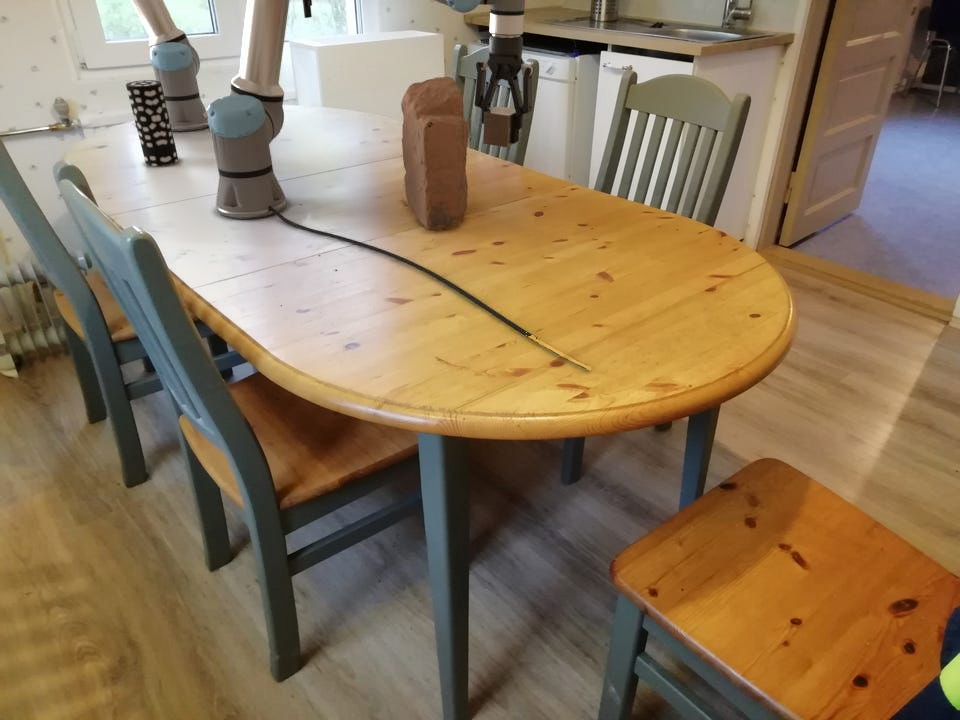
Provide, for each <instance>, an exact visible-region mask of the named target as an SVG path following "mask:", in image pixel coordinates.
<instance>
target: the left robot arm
mask: <svg viewBox="0 0 960 720" xmlns="http://www.w3.org/2000/svg"><path fill="white" fill-rule="evenodd" d="M130 1H131V3H132V5H133V7H134V9H135V11H136V13H137V14H138V16H139V18H140V20H141V22H142V24H143V26H144V28H145V30H146V31H147V34H148V35H149V39H150V40H149V43H148V46H149V48H150V50H149V55H150V59H149V60H150V62H151V65H152V68H153V73H154V79H155V81H160V82H161V84H162V89H163V93H164V98H165V102H166V106H167V111H168V115H169V120H170V124H171V129H172V132H190V131H196V130H203V129H205V128H209V126H208V114H207V109H206V107H205V104H204V103H203V101H202V99H201V95H200V89H199V84H198V79H197V75H198V74H199V72H200V68H201V61H200V56H199V54H198V52H197V50H196V49H195V48H194V47H193V45H192V44H191V43H190V40H189V39H188V36H187V34H186V32H185V31H184V30H182V29H179V28H178V27H177V24H176V23H175V21H174V19H173V18H172V14H171V13H170V11H169V9H168V8H167V6H166V3H165V2H164V0H130ZM312 1H313V0H302V6H303V16H304V18H305V19H309V18H313V16H312V6H313V2H312Z"/></svg>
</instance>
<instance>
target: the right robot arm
mask: <svg viewBox="0 0 960 720" xmlns="http://www.w3.org/2000/svg"><path fill="white" fill-rule="evenodd" d="M290 1H291V0H246V6H245V17H244V26H243V35H242V45H241V55H240V65H239V73H238V74H237V75H236V76H234V77H233V78H231V81H230V89H229V90H230V91H229V95H228V96H223V97H222V98H217V99H215V100H213V101H212V102H210V103H209V105H208V106H207V109H206V111H207V114H208V129H209V131H210V136H211V142H212V147H213V151H214V156H215V161H216V167H217V169H218V170H217V172H218V185H217V193H216V201H215V206H216V210H217V213H218V214H219V215H221V216H223V217H225V218H229V219H236V220H253V219H260V218H261V219H262V218H265V217H266V218H267V217H270V216H274V215H276V217H277V218H279V219H280V220H281V221H283V222H285V223H286V224H287V225H290V226H292V227H293V228H296V229H300V230H303V231H305V232H308V233H313V234H316V235H321V236H325V237H328V238H332V239H336V240H340V241H342V242H346V243H350V244H353V245H357V246H359V247H362V248H364V249H369V250H371V251H373V252H374V251H375V252H376V253H379V254H383V255H385V256H387V257H388V256H389V257H391V258H393V259H396V260H398V261H400V262H402V263H405V264H406V265H409V266H411V267H414V268H415V269H417V270H419V271H422V272H423V273H425V274H427V275H428V276H430V277H433V278H434V279H435V280H438V281H440V282H441V283H443V284H445V285H446V286H448V287H450V288H451V289H453V290H455V291H456V292H458V293H459V294H461V295H462V296H463V297H465V298H467V299H469V300H470V301H472V302H473V303H475V304H476V305H478V306H479V307H481V308H482V309H483V310H485V311H487V312H488V313H490V314H491V315H492V316H494V317H495V318H497V319H499V320H500V321H501V322H503V323H505V324H506V326H507V325H508V326H509V327H510V328H512V329H514V330H515V331H516V332H518V333H520V334H521V335H523V336H525V335H527V337H526V338H528V336H531V335H533V334H532V333H530V332H529V331H527V330H526V329H524V328H523V327H521V326H520V325H517V324H516V323H514V321H511V320H510V319H508V318H507V317H505V316H504V315H502V314H501V313H499V312H498V311H496V310H495V309H494V308H492V307H490V306H488V305H487V304H486V303H484V302H482V301H481V300H479V299H478V298H477V297H475V296H474V295H472V294H471V293H469V292H468V291H466V290H464V289H463V288H461V287H460V286H458V285H456V284H454V283H453V282H451V281H450V280H448V279H446V278H445V277H443V276H441V275H439V274H437V273H435V272H434V271H432V270H430V269H428V268H427V267H424V266H422V265H420V264H418V263H417V262H415V261H412V260H410V259H407V258H405V257H402V256H400V255H398V254H395V253H392V252H390V251H387V250H384V249H383V248H380V247H377V246H374V245H371V244H368V243H366V242H365V243H364V242H361V241H358V240H355V239H352V238H349V237H345V236H341V235H339V234H334V233H331V232H327V231H322V230H317V229H314V228H310V227H307V226H304V225H301V224H298V223H295V222H294V221H292V220H290V219H287V218H286V217H285V216H284V215H282V214H281V213H280V212H282V211H283V210H285V209H286V207H287V199H286V194H285V193H284V191H283V189H282V187H281V184H280V182H279V180H278V179H277V177H276V175H275V172H274V167H273V160H272V154H271V147H270V144H271V143H272V141H273V140H275V139H276V138H277V137H278V135H279V134H280V133H281V130H282V129H283V125H284V122H285V112H284V111H285V110H284V108H283V106H284V99H285V91H284V89H283V88H282V87H281V85H280V77H281V69H282V61H283V53H284V47H285V46H284V45H285V38H286V30H287V22H288V17H289V16H288V14H289V8H290ZM434 1H435V2H437V3H439V4H442V5H446V6H447V7H449V8H451V9H452V10H453V11H455V12H458V13H461V14H466V13H470V12H472V11H474V10H475V9H477V8H478V7H479V6H480V5H481V6H482V5H483V6H486V5H489V6H490V9H489V10H490V11H489V34H491V35H489V38H488V39H489V40H488V41H489V42H488V54H489V55H488V57H487V59H486V60H480V61H477V62H476V63H475V68H476V73H477V74H476V84H475V95H474V106H475V108H479V109H480V110H481V124H482V125H484V112H486V111H488V110H490V109H491V108H492V106H491V105H492V102H493V100H494V96H495V94H496V90H497V88H498V85H499V82H500V81H501V80H504V81H506V82H507V84H508V87H509V89H510V95H511V97H512V101H513V106H514V109H515V111H516V114H514V115H513V121H512V139H511V143H512V145H513V144H514V145H515V144H516V143H518V142H519V141H520V133H519V129H520V130H522V128H523V127H524V115H526V114H528V113H530V112H532V111H533V74H534V73H535V72H534V71H535V67H534V66H532V65H531V66H529V65H527V64H524V61H523V58H522V57H523V43H524V38H523V37H522V36H521V35H523V34H524V28H525V27H524V26H525V24H524V23H525V7H526V0H434ZM488 68H489V70H490V72H491V75H490V77H489V83H488V86H487V89H486V80H487V70H488ZM520 71H521V75H522V93H521V88H520V85H519V83H520V79H519V76H518V74H519V73H520ZM485 89H486V92H485ZM526 332H527V333H526ZM535 337H536V339H537V338H538V336H535Z"/></svg>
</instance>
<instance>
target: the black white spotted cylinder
mask: <svg viewBox="0 0 960 720" xmlns="http://www.w3.org/2000/svg"><path fill="white" fill-rule="evenodd" d="M125 87H126V91H127V95H128V99H129V103H130V107H131V110H132V115H133V118H134V124H135V127H136V130H137V134H138V139H139V143H140V146H141V150H142V155H143V158H144V163H145V164H146V165H147V166H151V167H164V166H170V165H174V164H176V163H178V162H179V155H178V150H177V146H176V142H175V137H174V133H173V131H172V129H171V124H170V120H169V115H168V111H167V106H166V102H165V98H164V93H163V89H162V84H161V82H160V81H156V79H154V80H153V79H151V80H150V79H145V80H144V79H141V80H134V81H130V82H129V81H128V82H127V83H126V84H125Z"/></svg>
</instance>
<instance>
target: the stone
mask: <svg viewBox="0 0 960 720" xmlns="http://www.w3.org/2000/svg"><path fill="white" fill-rule="evenodd" d="M400 107H401V112H402V114H403V115H402V116H403V118H402V119H403V120H402V121H403V122H402V130H401V133H402V138H401V147H402V161H403V167H404V170H405V174H404V178H403V179H404V180H403V181H404V190H405V197H406V201H407V203H408V204H409V207H410V208H411V210H412V212H413V213H414V215H415V217H416V219H417V220H418V221H419V223H420V224H421V225H422V226H424V228H425V230H427V231H440V230H447V229H453V228H456V227H457V226H458V225H459V224H460V223H462V222H464V220H465V217H466V216H465V215H466V212H467V209H468V190H469V186H468V177H467V169H466V168H467V167H466V166H467V156H468V143H469V142H468V141H469V121H467V120H466V119H465V115H464V113H465V111H464V110H465V109H464V108H465V107H464V99H463V95H462V91H461V88H460V87H459V85H457V81H455V80H454V78H453V77H451V76H438V77H434V78H429V79H425V80H423V81H419V82H413V83H412V84H410V85H409V86H408V88H407V89H406V91H405V92H404V95H403V96H402V99H401V103H400Z"/></svg>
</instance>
